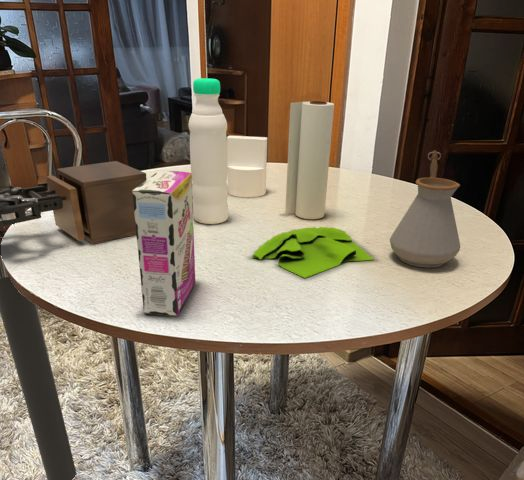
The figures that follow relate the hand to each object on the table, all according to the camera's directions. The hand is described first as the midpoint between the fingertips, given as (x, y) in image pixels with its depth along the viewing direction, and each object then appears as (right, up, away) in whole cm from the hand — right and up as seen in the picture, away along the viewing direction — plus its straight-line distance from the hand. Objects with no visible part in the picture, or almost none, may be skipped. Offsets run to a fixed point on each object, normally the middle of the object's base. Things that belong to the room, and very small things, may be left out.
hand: (53, 196), depth 87 cm
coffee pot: (+64, -8, +4) cm, 65 cm away
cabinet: (+7, -3, +9) cm, 12 cm away
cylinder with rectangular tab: (+32, +11, +33) cm, 47 cm away
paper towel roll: (+45, +2, +19) cm, 49 cm away
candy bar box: (+23, -19, -15) cm, 33 cm away
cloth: (+44, -9, +2) cm, 45 cm away
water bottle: (+25, 0, +15) cm, 30 cm away
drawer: (+3, -4, +6) cm, 8 cm away
